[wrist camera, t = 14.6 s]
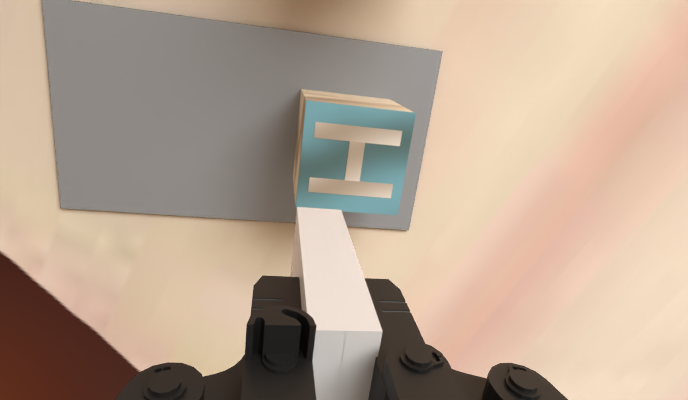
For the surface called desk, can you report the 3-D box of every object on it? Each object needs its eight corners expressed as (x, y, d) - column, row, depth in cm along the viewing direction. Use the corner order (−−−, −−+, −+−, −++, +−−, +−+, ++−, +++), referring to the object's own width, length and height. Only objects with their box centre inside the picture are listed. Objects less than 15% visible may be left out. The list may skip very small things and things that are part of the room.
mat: (43, -4, 29) (41, -4, 29) (441, 51, 34) (442, 51, 34) (62, 206, 34) (60, 208, 34) (407, 228, 39) (408, 230, 39)
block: (416, 113, 28) (390, 99, 34) (306, 101, 27) (301, 88, 33) (397, 215, 30) (376, 184, 37) (295, 208, 29) (292, 177, 36)
